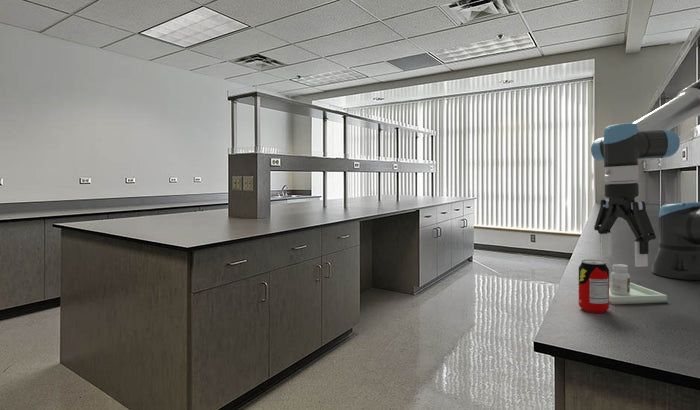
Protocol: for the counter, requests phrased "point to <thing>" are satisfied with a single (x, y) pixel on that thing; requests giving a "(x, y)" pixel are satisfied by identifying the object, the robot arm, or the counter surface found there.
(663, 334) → the counter surface
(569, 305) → the counter surface
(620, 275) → the pill bottle
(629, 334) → the counter surface
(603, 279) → the beverage can
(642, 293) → the tray
